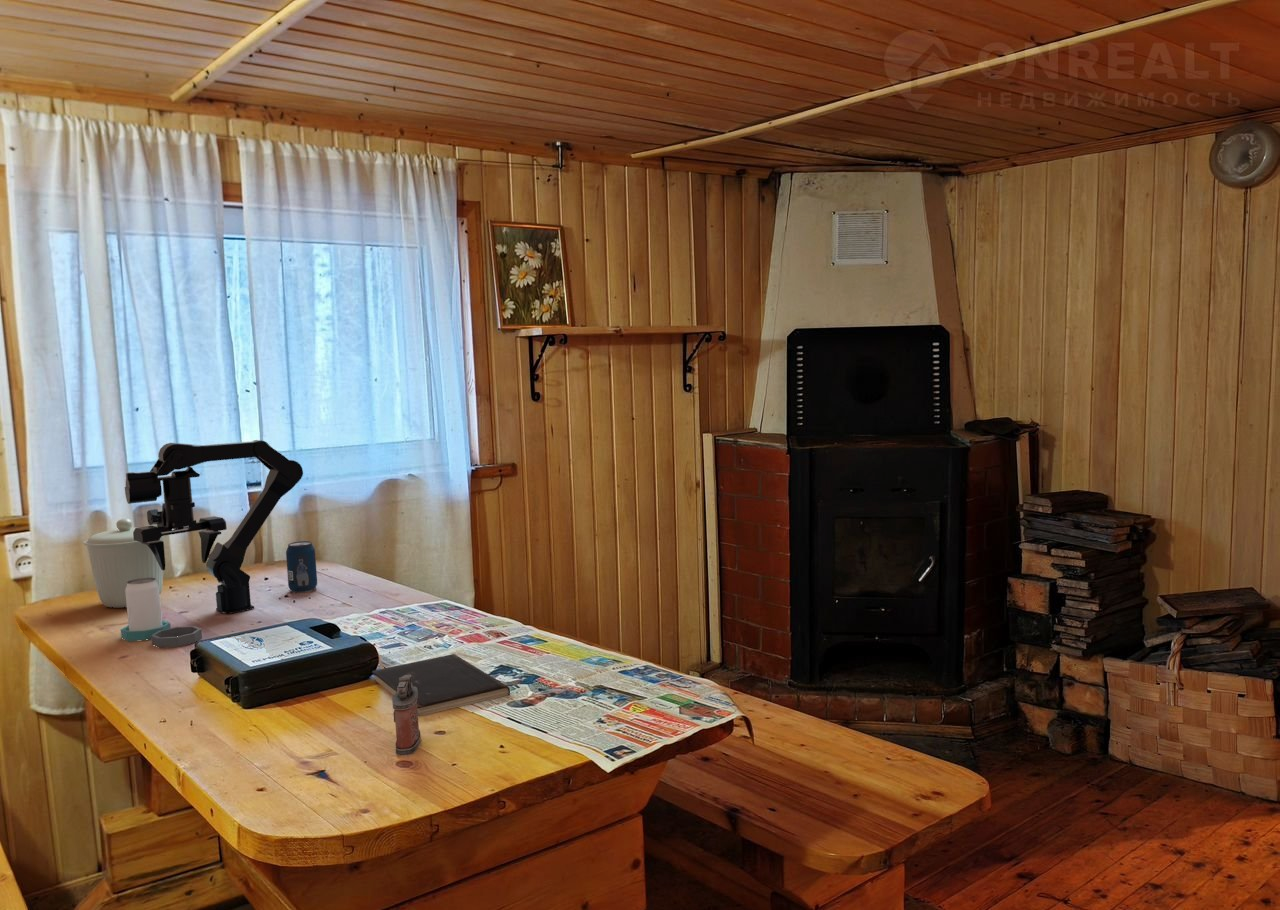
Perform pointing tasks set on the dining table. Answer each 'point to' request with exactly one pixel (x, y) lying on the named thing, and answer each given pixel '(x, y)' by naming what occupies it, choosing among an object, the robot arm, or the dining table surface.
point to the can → (143, 604)
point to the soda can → (301, 567)
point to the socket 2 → (170, 636)
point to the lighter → (406, 717)
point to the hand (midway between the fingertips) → (184, 566)
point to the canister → (120, 562)
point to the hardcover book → (443, 683)
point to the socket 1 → (142, 632)
